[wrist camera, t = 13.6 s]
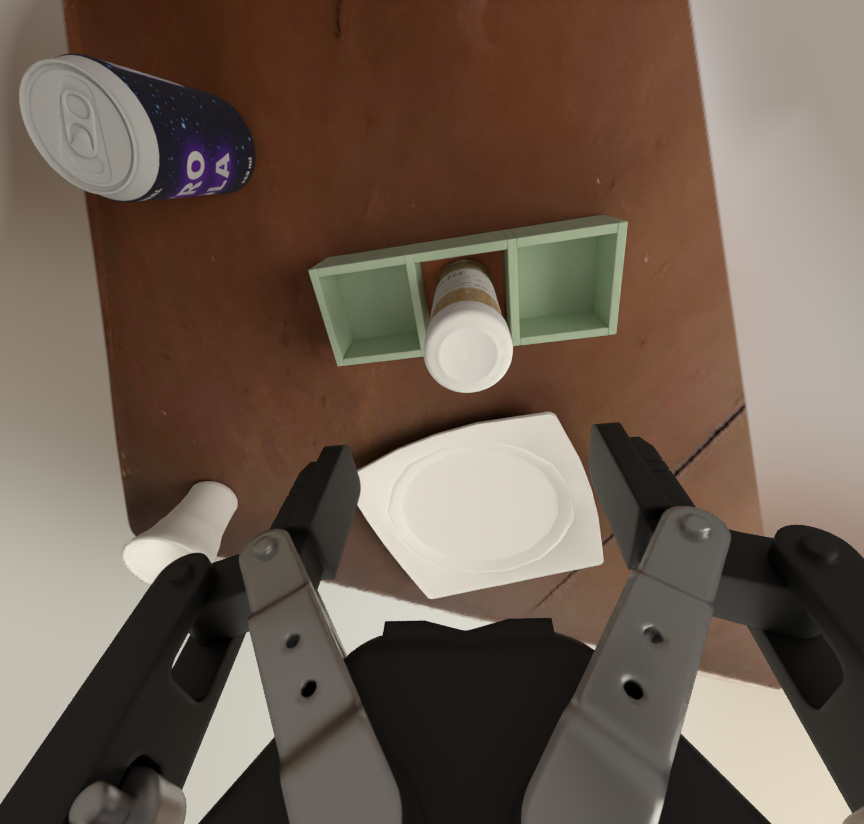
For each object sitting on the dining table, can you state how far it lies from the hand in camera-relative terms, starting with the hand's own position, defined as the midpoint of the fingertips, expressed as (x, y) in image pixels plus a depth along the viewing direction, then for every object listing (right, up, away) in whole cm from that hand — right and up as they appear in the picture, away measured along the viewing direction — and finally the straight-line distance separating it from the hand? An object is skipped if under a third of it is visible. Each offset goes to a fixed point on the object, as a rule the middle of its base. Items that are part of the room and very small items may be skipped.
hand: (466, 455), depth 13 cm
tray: (+1, +12, +18) cm, 22 cm away
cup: (-27, -9, +34) cm, 44 cm away
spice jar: (+1, +11, +18) cm, 21 cm away
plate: (+4, -9, +32) cm, 33 cm away
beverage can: (-16, +20, +14) cm, 30 cm away
